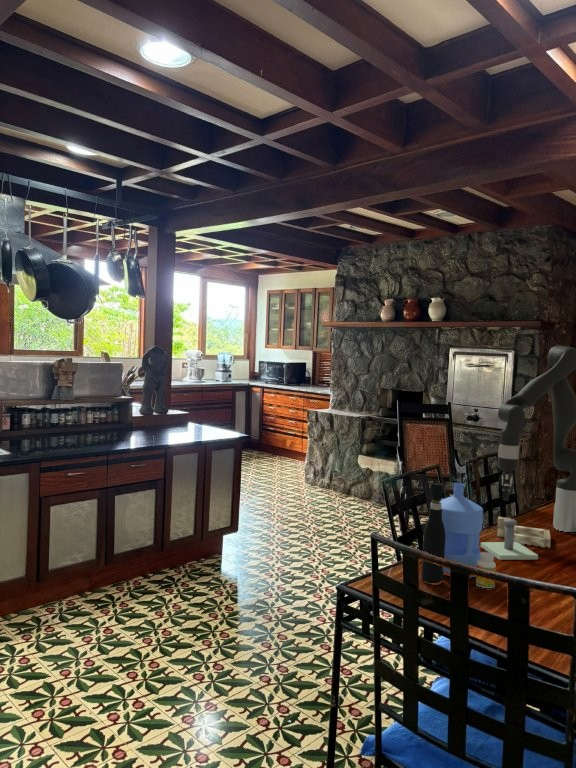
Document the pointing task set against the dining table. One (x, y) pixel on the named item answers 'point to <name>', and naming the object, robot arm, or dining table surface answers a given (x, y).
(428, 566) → the wine bottle
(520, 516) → the dining table surface
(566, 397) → the robot arm
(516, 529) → the birch loop
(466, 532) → the water jug
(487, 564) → the supplement bottle
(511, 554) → the post base plate
